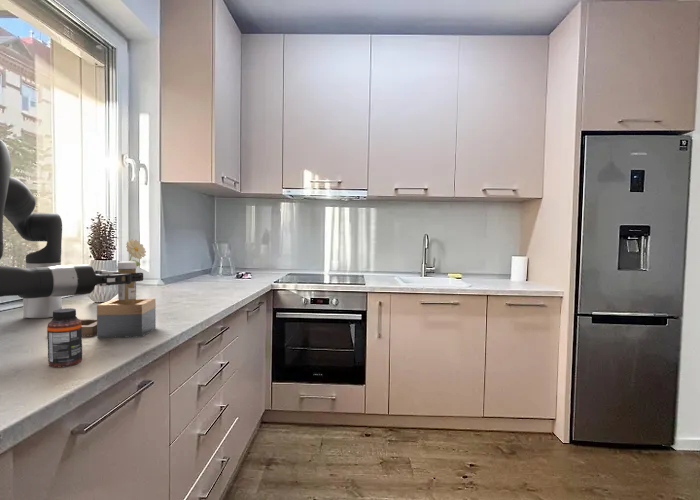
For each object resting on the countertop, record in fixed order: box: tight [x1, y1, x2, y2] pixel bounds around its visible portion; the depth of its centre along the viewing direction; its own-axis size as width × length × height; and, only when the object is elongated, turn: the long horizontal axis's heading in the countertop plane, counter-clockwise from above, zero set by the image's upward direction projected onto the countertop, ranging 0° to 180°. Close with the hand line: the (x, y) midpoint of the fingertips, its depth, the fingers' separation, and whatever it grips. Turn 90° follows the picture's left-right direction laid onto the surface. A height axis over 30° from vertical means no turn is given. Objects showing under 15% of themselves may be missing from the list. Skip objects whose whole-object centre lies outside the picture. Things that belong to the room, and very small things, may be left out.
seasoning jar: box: [116, 260, 137, 304], centre depth 116 cm, size 5×5×13 cm
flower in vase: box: [110, 238, 147, 300], centre depth 151 cm, size 13×11×25 cm
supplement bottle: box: [46, 307, 83, 368], centre depth 89 cm, size 6×6×11 cm
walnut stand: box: [46, 318, 97, 338], centre depth 117 cm, size 11×11×2 cm
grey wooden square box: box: [96, 297, 157, 339], centre depth 117 cm, size 11×11×8 cm
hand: (134, 275), depth 118 cm, fingers open, 8 cm apart
